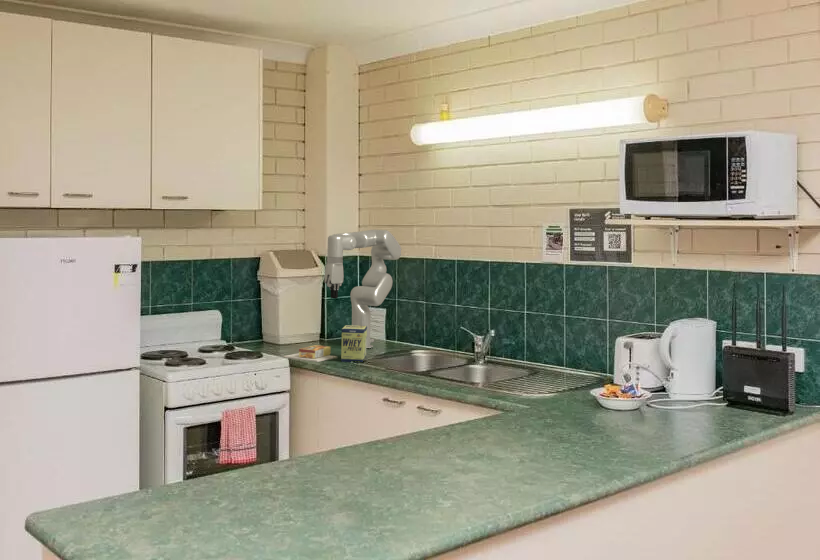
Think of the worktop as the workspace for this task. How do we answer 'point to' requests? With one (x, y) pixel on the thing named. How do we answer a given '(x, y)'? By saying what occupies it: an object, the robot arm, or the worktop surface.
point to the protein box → (353, 343)
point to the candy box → (314, 351)
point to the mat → (296, 356)
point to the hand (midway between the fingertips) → (334, 298)
